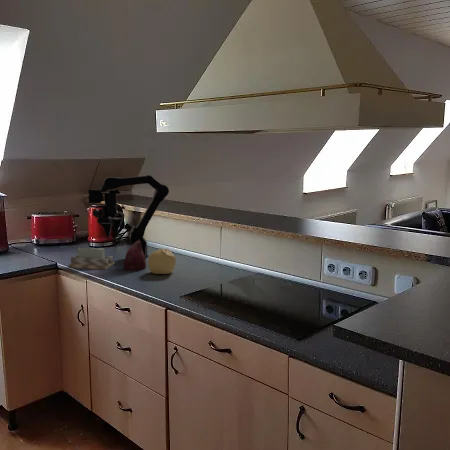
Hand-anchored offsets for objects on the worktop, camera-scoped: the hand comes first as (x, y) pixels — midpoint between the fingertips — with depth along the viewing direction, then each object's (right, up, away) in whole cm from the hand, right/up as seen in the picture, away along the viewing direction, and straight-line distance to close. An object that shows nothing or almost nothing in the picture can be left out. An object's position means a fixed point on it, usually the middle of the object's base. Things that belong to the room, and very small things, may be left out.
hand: (111, 235), depth 234 cm
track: (-7, -14, -11) cm, 19 cm away
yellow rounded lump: (+28, -16, -23) cm, 40 cm away
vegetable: (+14, -15, -15) cm, 25 cm away
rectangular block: (-7, -13, -11) cm, 18 cm away
